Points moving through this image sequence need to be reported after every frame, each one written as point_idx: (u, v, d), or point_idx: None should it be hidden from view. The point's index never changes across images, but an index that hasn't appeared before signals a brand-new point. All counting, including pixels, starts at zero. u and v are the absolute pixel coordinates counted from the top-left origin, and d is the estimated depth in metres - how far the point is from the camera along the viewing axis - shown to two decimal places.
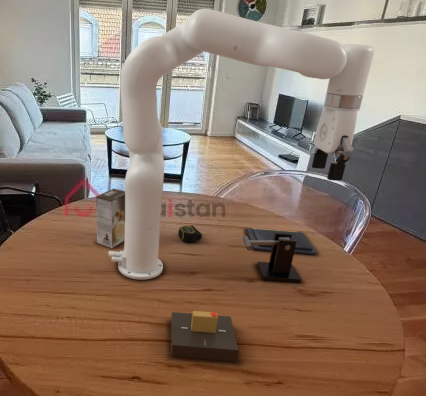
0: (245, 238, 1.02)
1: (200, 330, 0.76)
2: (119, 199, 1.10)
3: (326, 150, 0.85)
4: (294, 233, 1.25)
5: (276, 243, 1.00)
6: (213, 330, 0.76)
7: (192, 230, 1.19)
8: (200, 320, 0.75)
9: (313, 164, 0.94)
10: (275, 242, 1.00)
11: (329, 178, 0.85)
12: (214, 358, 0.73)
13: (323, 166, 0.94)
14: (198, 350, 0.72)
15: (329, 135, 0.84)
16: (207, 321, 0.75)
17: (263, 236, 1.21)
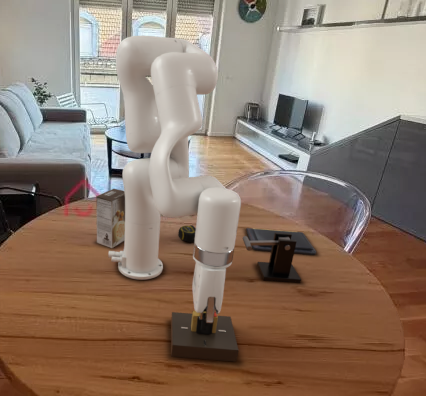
0: (245, 238, 1.02)
1: None
2: (119, 199, 1.10)
3: (194, 308, 0.71)
4: (294, 233, 1.25)
5: (276, 243, 1.00)
6: (213, 330, 0.76)
7: (192, 230, 1.19)
8: None
9: None
10: (275, 242, 1.00)
11: (197, 332, 0.75)
12: (214, 358, 0.73)
13: None
14: (198, 350, 0.72)
15: (196, 292, 0.70)
16: None
17: (263, 236, 1.21)
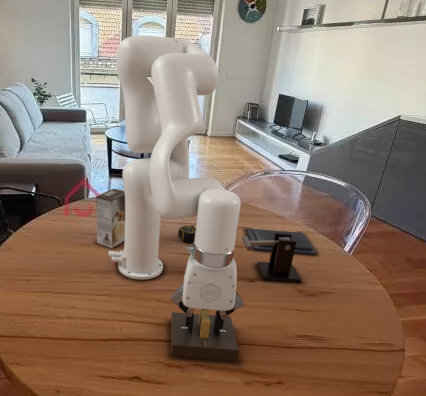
0: (245, 238, 1.02)
1: None
2: (119, 199, 1.10)
3: (227, 309, 0.71)
4: (294, 233, 1.25)
5: (276, 243, 1.00)
6: None
7: (192, 230, 1.19)
8: None
9: (191, 329, 0.75)
10: (275, 242, 1.00)
11: None
12: (214, 358, 0.73)
13: None
14: (198, 350, 0.72)
15: (227, 294, 0.70)
16: None
17: (263, 236, 1.21)
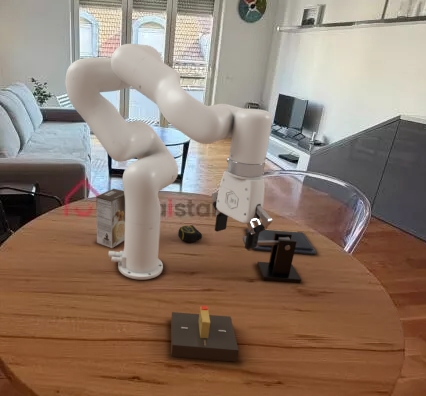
0: (245, 238, 1.02)
1: None
2: (119, 199, 1.10)
3: (242, 220, 0.79)
4: (294, 233, 1.25)
5: (276, 243, 1.00)
6: None
7: (192, 230, 1.19)
8: None
9: (216, 228, 0.88)
10: (275, 242, 1.00)
11: (247, 247, 0.80)
12: (214, 358, 0.73)
13: (225, 227, 0.89)
14: (198, 350, 0.72)
15: (243, 205, 0.78)
16: None
17: (263, 236, 1.21)
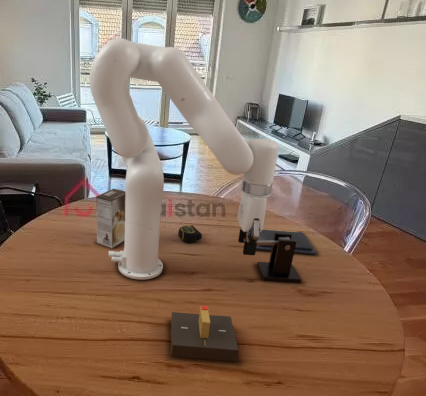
0: (245, 238, 1.02)
1: None
2: (119, 199, 1.10)
3: (242, 229, 0.96)
4: (294, 233, 1.25)
5: (276, 243, 1.00)
6: None
7: (192, 230, 1.19)
8: None
9: (239, 239, 1.04)
10: (275, 242, 1.00)
11: (244, 253, 0.98)
12: (214, 358, 0.73)
13: None
14: (198, 350, 0.72)
15: (244, 216, 0.95)
16: None
17: (263, 236, 1.21)
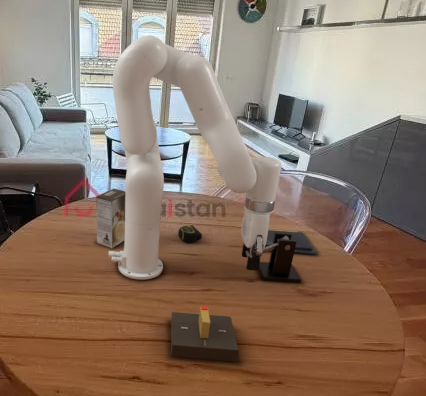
0: (246, 252, 1.04)
1: None
2: (119, 199, 1.10)
3: (245, 245, 0.97)
4: (294, 233, 1.25)
5: (276, 246, 1.00)
6: None
7: (192, 230, 1.19)
8: None
9: (242, 253, 1.06)
10: (275, 245, 1.00)
11: (247, 268, 1.00)
12: (214, 358, 0.73)
13: None
14: (198, 350, 0.72)
15: (247, 233, 0.96)
16: None
17: None
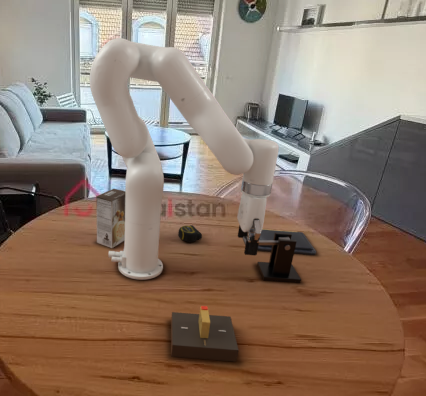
0: (245, 238, 1.02)
1: None
2: (119, 199, 1.10)
3: (242, 229, 0.96)
4: (294, 233, 1.25)
5: (276, 243, 1.00)
6: None
7: (192, 230, 1.19)
8: None
9: (238, 234, 1.05)
10: (275, 242, 1.00)
11: (245, 253, 0.96)
12: (214, 358, 0.73)
13: (247, 236, 1.05)
14: (198, 350, 0.72)
15: (244, 216, 0.95)
16: None
17: (263, 236, 1.21)
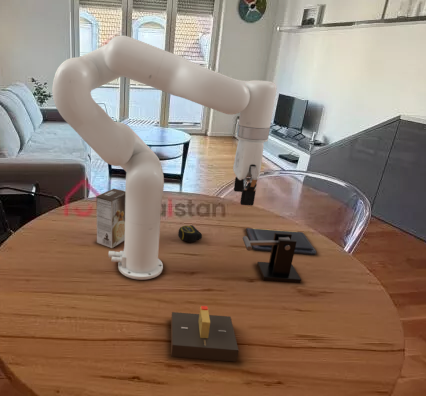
0: (245, 238, 1.02)
1: None
2: (119, 199, 1.10)
3: (238, 177, 0.91)
4: (294, 233, 1.25)
5: (276, 243, 1.00)
6: None
7: (192, 230, 1.19)
8: None
9: (234, 188, 1.00)
10: (275, 242, 1.00)
11: (241, 203, 0.91)
12: (214, 358, 0.73)
13: None
14: (198, 350, 0.72)
15: (240, 163, 0.90)
16: None
17: (263, 236, 1.21)
